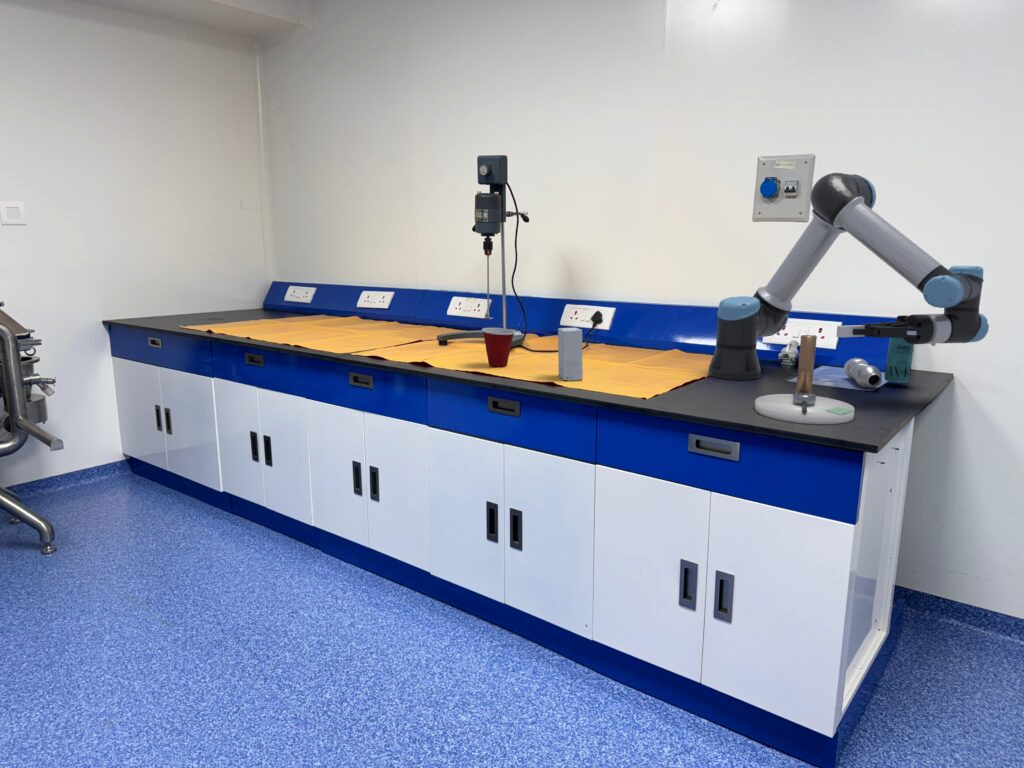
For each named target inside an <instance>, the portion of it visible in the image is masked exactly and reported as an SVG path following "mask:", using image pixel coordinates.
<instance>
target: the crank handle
mask: <svg viewBox="0 0 1024 768" xmlns="http://www.w3.org/2000/svg"><path fill="white" fill-rule="evenodd" d="M817 340H818V338H817V336H816V335H810V334H803V335H801V336H800V342H799V357H798V364H797V365H798V366H797V375H796V376H797V377H796V388H795V389H796V390H795V392H794V393H792V394H793V403H795V404H798V405H802V412H807V405H815V401H816V396H817V395H816V394H814V393H812V392H813V379H814V371H815V369H814V368H815V359H816V348H817Z"/></svg>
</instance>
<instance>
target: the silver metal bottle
mask: <svg viewBox="0 0 1024 768" xmlns="http://www.w3.org/2000/svg"><path fill="white" fill-rule="evenodd" d="M843 370H844V374H845V375H846V377H848V378H849V379H851V380H854V379H855V380H854V381H856V382H857V384H858V385H859V386H860V387H862V388H865V387H867V388H866V389H869V388H870V389H871V388H876V387H879V386H880V385H882V382H883V378H882V371H881V370H880V369H879V368H878V367H877V366H874V365H869V363H868V362H867V361H866V360H865V359H863V358H861V357H860V358H858V357H854V358H850V359H849V360H847V361H846V362H845V364H844V367H843Z"/></svg>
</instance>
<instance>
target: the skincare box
mask: <svg viewBox="0 0 1024 768" xmlns="http://www.w3.org/2000/svg"><path fill="white" fill-rule="evenodd" d="M557 331H558V332H557V341H558V342H557V343H558V344H557V345H558V347H557V351H558V353H557V355H558V356H557V357H558V359H557V360H558V377H559V376H560V377H559V378H560V379H562V381H564V380H567V381H577V380H578V381H583V378H584V376H583V374H584V373H583V329H581V328H578V327H560V328H557Z"/></svg>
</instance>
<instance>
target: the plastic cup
mask: <svg viewBox="0 0 1024 768" xmlns="http://www.w3.org/2000/svg"><path fill="white" fill-rule="evenodd" d="M481 332H482V333H483V337H484V338H483V339H484V343H485V351H486V356H487V362H488V366H489V367H490V366H491V367H490V368H497V367H499V368H506V367H507V366H508V362H509V356H510V352H511V348H512V343H513V342H512V341H513V339H514V336H515V334H516V331H515V330H513V329H509V328H503V327H483V328H482V329H481ZM505 366H506V367H505Z"/></svg>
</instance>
